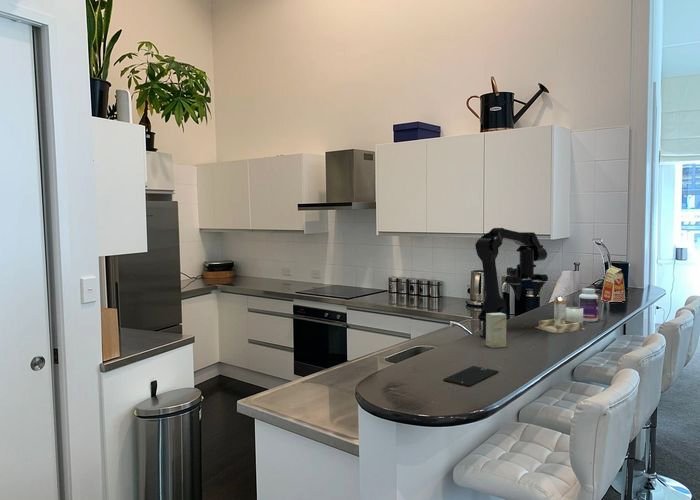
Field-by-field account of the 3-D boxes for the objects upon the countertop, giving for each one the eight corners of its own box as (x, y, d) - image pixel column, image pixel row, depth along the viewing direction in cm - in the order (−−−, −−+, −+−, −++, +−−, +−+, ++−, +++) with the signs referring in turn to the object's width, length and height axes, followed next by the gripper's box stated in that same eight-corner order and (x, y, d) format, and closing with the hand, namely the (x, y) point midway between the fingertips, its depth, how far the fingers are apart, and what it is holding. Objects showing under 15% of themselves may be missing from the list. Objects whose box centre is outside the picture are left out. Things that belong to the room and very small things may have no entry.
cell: (562, 329, 215) (563, 296, 215) (551, 327, 219) (552, 295, 218) (567, 327, 219) (568, 295, 218) (556, 326, 222) (557, 294, 221)
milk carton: (600, 301, 289) (601, 265, 287) (614, 300, 291) (614, 264, 290) (613, 303, 280) (614, 266, 279) (627, 302, 283) (627, 266, 282)
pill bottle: (600, 322, 231) (600, 290, 230) (581, 322, 232) (581, 290, 231) (595, 319, 239) (595, 288, 238) (577, 318, 240) (577, 287, 239)
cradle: (555, 333, 210) (555, 326, 210) (535, 328, 221) (535, 321, 221) (584, 329, 216) (584, 322, 216) (564, 324, 227) (564, 318, 227)
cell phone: (499, 373, 159) (499, 370, 159) (469, 388, 146) (469, 385, 146) (473, 368, 165) (473, 365, 165) (442, 382, 152) (442, 379, 152)
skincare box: (491, 348, 188) (491, 315, 188) (485, 345, 193) (485, 313, 192) (506, 346, 190) (507, 314, 189) (500, 344, 194) (500, 312, 194)
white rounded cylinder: (575, 325, 224) (575, 309, 224) (562, 323, 231) (562, 307, 230) (586, 324, 227) (587, 308, 227) (573, 321, 234) (573, 305, 233)
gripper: (529, 259, 228) (529, 295, 229) (496, 261, 220) (496, 298, 221) (548, 261, 218) (548, 298, 219) (514, 263, 210) (514, 301, 211)
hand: (526, 299), depth 218 cm, fingers open, 9 cm apart
